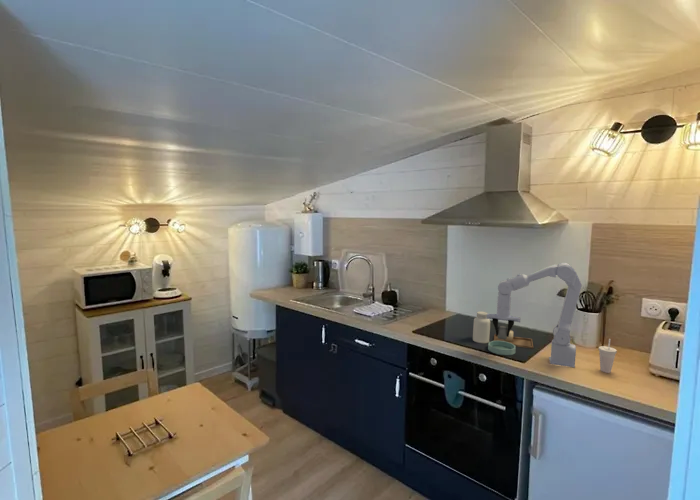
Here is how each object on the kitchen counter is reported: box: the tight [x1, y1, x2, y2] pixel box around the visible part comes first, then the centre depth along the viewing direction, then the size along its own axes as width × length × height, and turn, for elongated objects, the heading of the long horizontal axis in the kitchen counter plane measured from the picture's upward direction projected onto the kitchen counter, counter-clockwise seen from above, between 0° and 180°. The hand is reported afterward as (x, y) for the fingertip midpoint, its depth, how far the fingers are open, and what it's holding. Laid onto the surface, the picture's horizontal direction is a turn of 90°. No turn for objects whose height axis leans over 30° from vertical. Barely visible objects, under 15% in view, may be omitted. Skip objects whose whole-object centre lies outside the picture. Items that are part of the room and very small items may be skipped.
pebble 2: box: [504, 330, 514, 342], centre depth 197 cm, size 4×4×5 cm
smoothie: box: [598, 338, 618, 374], centre depth 163 cm, size 6×6×14 cm
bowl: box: [487, 340, 517, 356], centre depth 185 cm, size 12×12×3 cm
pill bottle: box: [472, 310, 491, 344], centre depth 197 cm, size 8×8×15 cm
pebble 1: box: [498, 325, 508, 339], centre depth 181 cm, size 4×4×5 cm
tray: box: [493, 333, 534, 349], centre depth 196 cm, size 18×12×2 cm, turn 68°
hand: (502, 335), depth 181 cm, fingers closed on pebble 1, 4 cm apart
